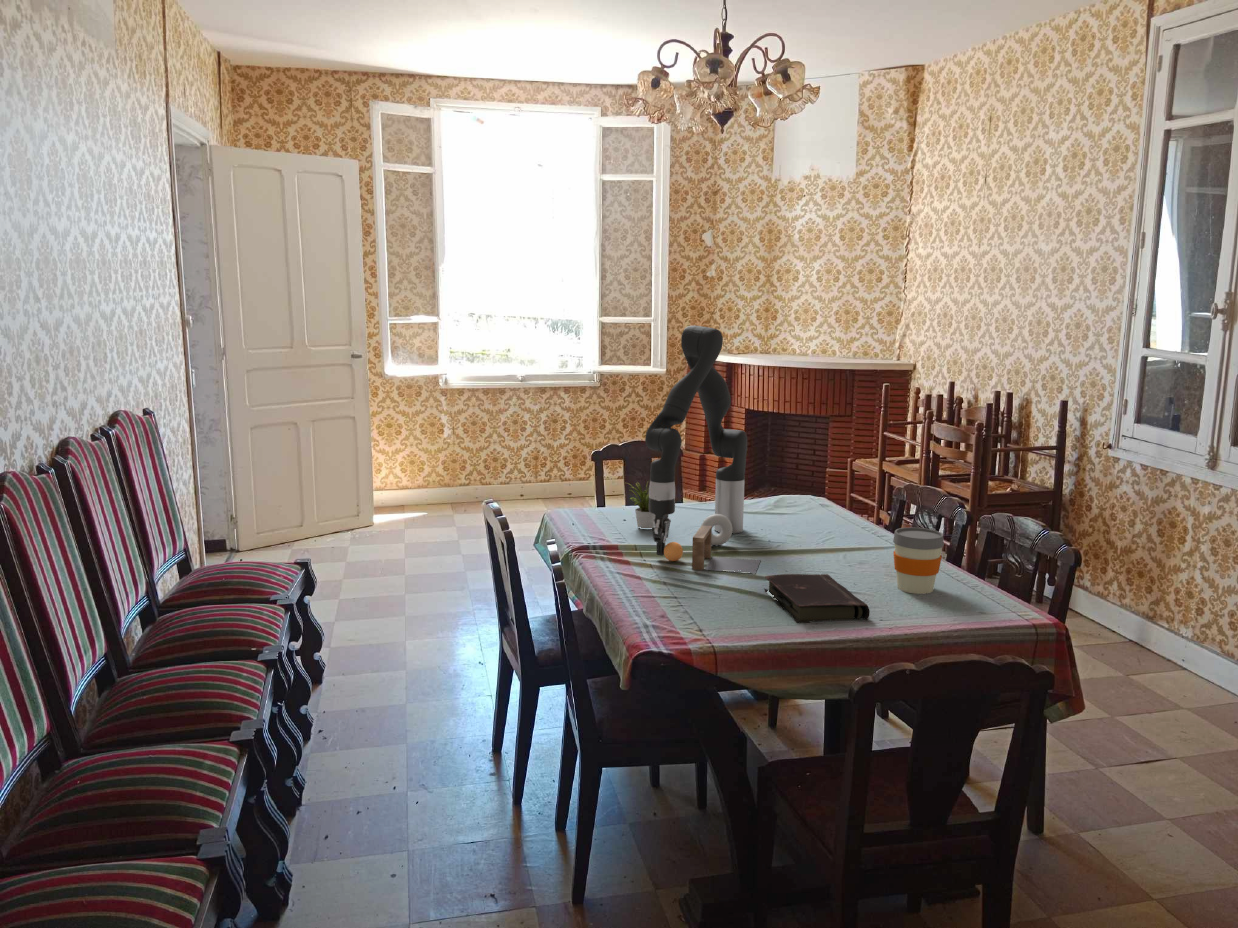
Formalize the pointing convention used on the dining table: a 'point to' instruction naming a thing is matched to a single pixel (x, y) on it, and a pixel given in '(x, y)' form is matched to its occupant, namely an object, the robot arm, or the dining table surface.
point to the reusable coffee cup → (917, 558)
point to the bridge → (701, 547)
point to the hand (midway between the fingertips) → (660, 554)
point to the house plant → (643, 508)
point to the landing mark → (733, 564)
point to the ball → (673, 551)
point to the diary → (815, 598)
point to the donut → (725, 526)
